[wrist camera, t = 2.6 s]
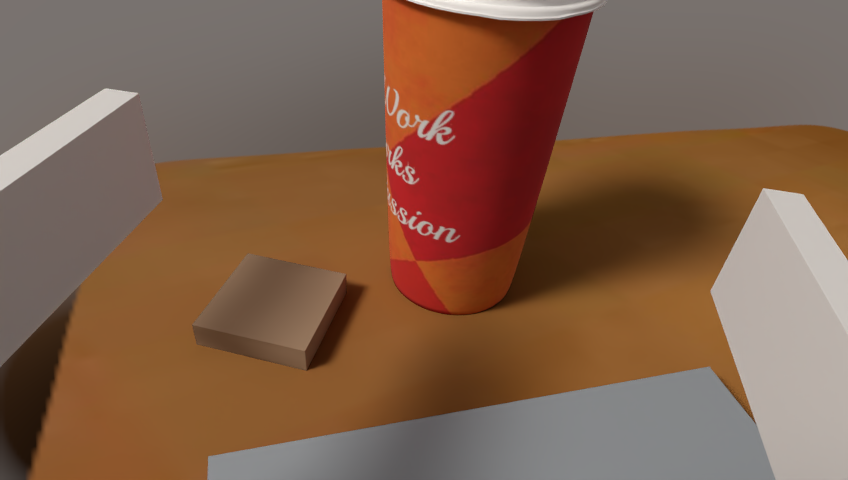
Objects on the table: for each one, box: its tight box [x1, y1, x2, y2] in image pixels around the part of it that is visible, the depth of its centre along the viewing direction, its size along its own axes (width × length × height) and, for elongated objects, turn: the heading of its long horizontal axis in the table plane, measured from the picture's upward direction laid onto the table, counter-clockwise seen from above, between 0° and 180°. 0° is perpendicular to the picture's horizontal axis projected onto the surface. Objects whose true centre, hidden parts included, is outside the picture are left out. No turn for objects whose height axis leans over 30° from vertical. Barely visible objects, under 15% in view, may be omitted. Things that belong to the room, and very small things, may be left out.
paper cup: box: [382, 0, 607, 315], centre depth 23 cm, size 8×8×14 cm
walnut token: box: [192, 254, 347, 371], centre depth 24 cm, size 4×4×2 cm
